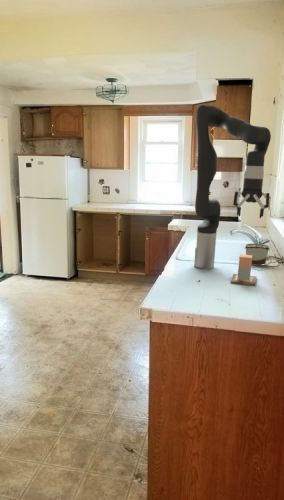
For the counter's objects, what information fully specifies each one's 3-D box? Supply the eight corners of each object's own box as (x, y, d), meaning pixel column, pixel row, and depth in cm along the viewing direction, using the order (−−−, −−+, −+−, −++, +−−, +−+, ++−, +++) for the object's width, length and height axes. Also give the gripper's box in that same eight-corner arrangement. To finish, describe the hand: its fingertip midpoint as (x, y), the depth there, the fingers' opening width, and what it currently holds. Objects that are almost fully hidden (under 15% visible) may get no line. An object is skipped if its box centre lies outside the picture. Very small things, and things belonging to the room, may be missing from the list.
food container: (265, 262, 197) (267, 243, 195) (268, 265, 191) (270, 246, 189) (241, 261, 198) (243, 242, 196) (243, 264, 192) (245, 245, 190)
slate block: (237, 279, 161) (238, 268, 160) (238, 276, 166) (239, 265, 165) (249, 280, 160) (250, 269, 158) (250, 277, 164) (251, 266, 163)
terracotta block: (238, 268, 160) (239, 256, 159) (239, 265, 165) (240, 254, 164) (250, 269, 158) (251, 257, 157) (251, 266, 163) (252, 255, 162)
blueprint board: (230, 283, 159) (230, 280, 159) (233, 275, 170) (233, 273, 170) (255, 286, 156) (255, 283, 155) (256, 278, 167) (256, 276, 167)
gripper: (234, 177, 152) (231, 216, 155) (271, 178, 147) (267, 219, 151) (236, 176, 159) (233, 214, 162) (271, 178, 154) (267, 217, 158)
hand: (249, 216), depth 157 cm, fingers open, 8 cm apart
